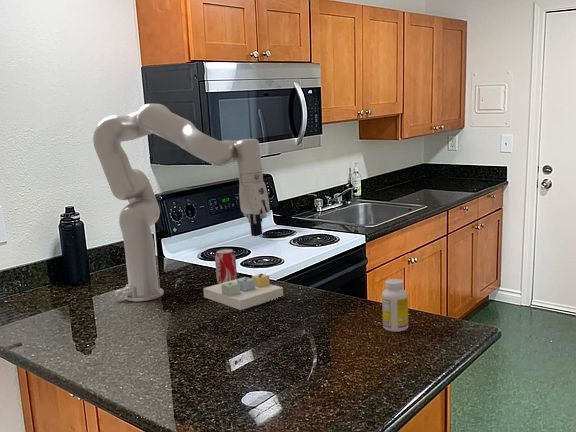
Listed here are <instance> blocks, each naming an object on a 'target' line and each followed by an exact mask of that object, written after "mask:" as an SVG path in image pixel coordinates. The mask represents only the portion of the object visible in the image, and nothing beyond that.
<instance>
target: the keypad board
mask: <svg viewBox="0 0 576 432" xmlns="http://www.w3.org/2000/svg"><path fill="white" fill-rule="evenodd" d="M244 278H250V279H252V277H247V276H243V277H239V278H237V279H235V280H232V281H228V282H224V283H221V284H218V283H217V284H214V285H211V286H210V285H209V286H206V287H203V298H205V299H208V300H210V301H213V302H216V303H220V304H223V305H225V306H228V307H231V308H233V309H236V310H239V311H242V310H246V309H249V308H253V307H255V306H258V305H261V304H265V303H268V302H270V300H271V301H274V300H277V299H279V298H278V297H281V296H283V297H284V287H282V286H278V285H275V284H271V283H270V285H267V286H264V287H261V288H259V287H256V286H255V289H254V290H251V291H247V292H243V291H240V294H237V295H234V296H230V297H229V296H226V295H223V294H222V286H221V285H222V284H225V283H229V282H234V283H237V280H240V279H244ZM276 298H277V299H276ZM281 298H282V297H281ZM273 299H274V300H273Z"/></svg>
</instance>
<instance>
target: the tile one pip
mask: <svg viewBox="0 0 576 432" xmlns="http://www.w3.org/2000/svg"><path fill="white" fill-rule="evenodd" d="M221 286H222V294H223V295H226V296H229V297H230V296H234V295H237V294H240V286H239V284H238V283H234V282H229V283H225V284H222V285H221Z"/></svg>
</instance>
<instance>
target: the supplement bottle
mask: <svg viewBox="0 0 576 432" xmlns="http://www.w3.org/2000/svg"><path fill="white" fill-rule="evenodd" d="M384 286H385V287H386V288H385V289H384V290H383V291H382V293H381V304H382V305H381V306H382V326H383V328H384V330H386V331H388V332H395V333H397V332H398V333H399V332H404V331H406V330H407V329H409V302H408V301H409V298H408V297H409V296H408V292H407V291H406V290H405V289H403V287H404V280H403V279H400V278H389V279H386V280H385V283H384Z"/></svg>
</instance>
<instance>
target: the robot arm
mask: <svg viewBox="0 0 576 432" xmlns="http://www.w3.org/2000/svg"><path fill="white" fill-rule="evenodd" d="M152 134H153V135H156V136H158V137H160V138H162V139H164V140H166V141H169V142H171V143H173V144H174V145H177V146H178V147H180V148H181V149H183V150H184V151H186V152H188V153H189V154H191V155H192V156H194V157H196V158H199V159H200V160H202V161H204V162H206V163H209V164H210V165H213V166H216V167H223V166H226V165H229V164H231V163H232V164H233V163H236V164H237V172H238V182H239V189H238V190H239V193H238V194H239V197H238V198H239V206H240V207H239V208H240V211H241V213H242V214H243V216H244V218H246V219H248V223H249V224H250V225H249V226H250V234H251V237H258V236H262V235H263V226H262V223H263V219H266V218H267V213H269V212H270V211H271V210H270V209H271V208H270V200H269V194H268V190H267V186H266V183H265V181H264V176H263V174H264V173H263V166H262V156H261V145H260V142H259V140H258V139H257V138H244V139H238V140H229V139H225V140H218V139H217V138H215V137H212V136H210V135H208V134H205V133H204V132H202V131H200V130H199V129H198V128H196V126H195V125H194V124H193V122H191V121H190V120H189V119H187V118H184V117H182V116H180V115H178V114H176V113H174V112H171V110H170V109H169V108H168V107H167V106H165V104H161V103H146V104H143V105H142V106H141V107H140V108H139V109H138V110H137V111H135V112H131V113H129V114H112V115H109V116H107V117H104V118H103V119H101V120H100V122H99V123H97V126H96V127H95V129H94V132H93V137H92V142H93V147H94V150H95V152H96V155H97V158H98V160H99V162H100V165H101V167H102V170H103V173H104V175H105V176H104V177H106V180H107V183H108V185H109V186H108V187H109V188H110V190H111V193H112V195H113V196H114V198H115V199H117V200H120V201H128V204H127V205H126V206H124V207H123V208H122V210H121V211H120V213H119V218H118V219H119V221H118V222H119V226H120V231H121V234H122V239H123V246H124V255H125V264H126V265H125V267H126V274H127V281H128V282H127V283H128V284H125V287H123V288H122V289H117V290H114V295H115V296H116V297H119V296H122V297H124V299H125V300H126V301H129V302H146V301H147V302H148V301H152V300H156V299H158V298H161V297H162V296H163V295H164V294H165V293H164V289H163V288H161V287H159V280H158V279H159V278H158V272H157V259H156V250H155V248H156V247H155V242H154V241H155V240H154V235H153V233H152V229H151V226H153V225H154V224H156V223H157V222H158V221H159V218H160V214H161V209H160V205H159V203H158V200H157V197H156V195H155V192H154V190H153V187H152V184H151V182H150V179H149V178H148V176H147V175H146V174H145V173H144V172H143V171H141V170H140V169H138V168H133V167H132V165H131V163H130V161H129V158H128V156H127V153H126V151H125V150H124V149H123V147H122V145H121V143H122V142H128V141H129V142H130V141H135V140H137V139H140V138H143V137H145V136H149V135H152Z"/></svg>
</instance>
